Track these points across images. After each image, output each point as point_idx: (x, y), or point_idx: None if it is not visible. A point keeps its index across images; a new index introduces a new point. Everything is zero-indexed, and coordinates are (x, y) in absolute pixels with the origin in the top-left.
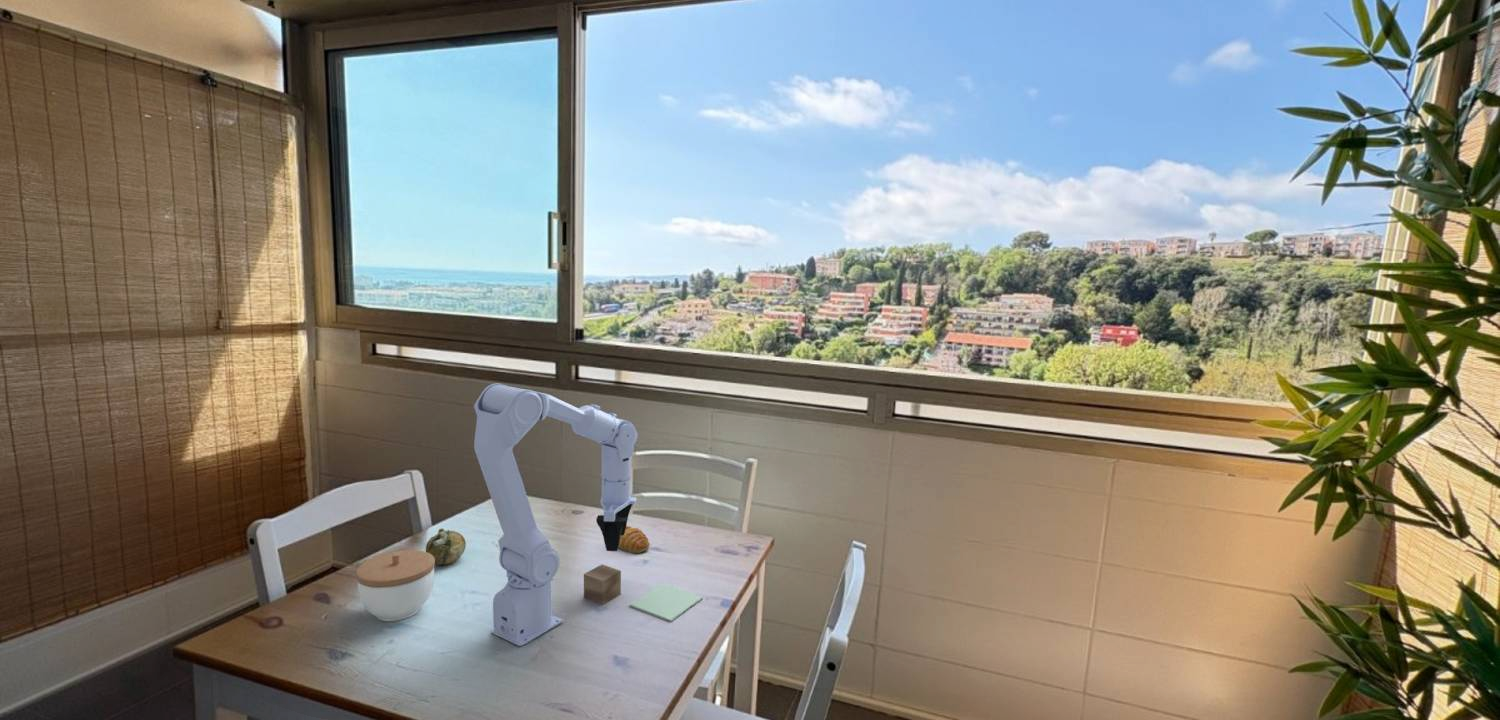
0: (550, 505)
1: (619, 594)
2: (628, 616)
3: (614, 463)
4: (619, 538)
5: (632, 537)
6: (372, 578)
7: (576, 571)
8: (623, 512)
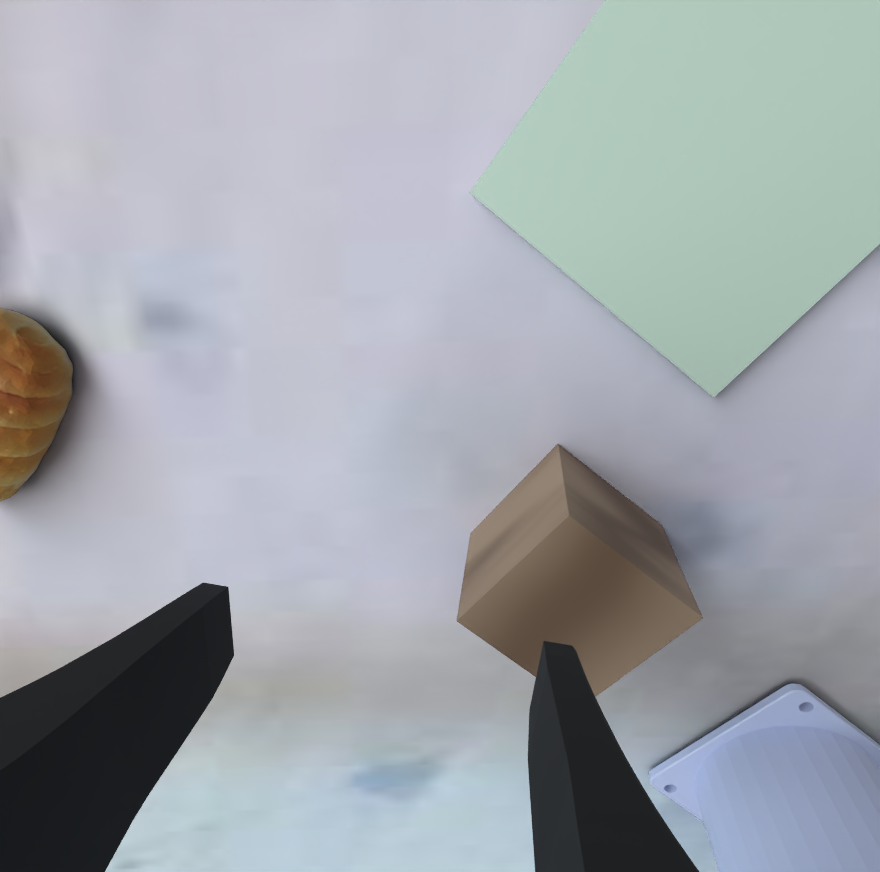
0: None
1: (565, 451)
2: (830, 395)
3: None
4: (618, 751)
5: None
6: None
7: (308, 639)
8: (42, 809)
